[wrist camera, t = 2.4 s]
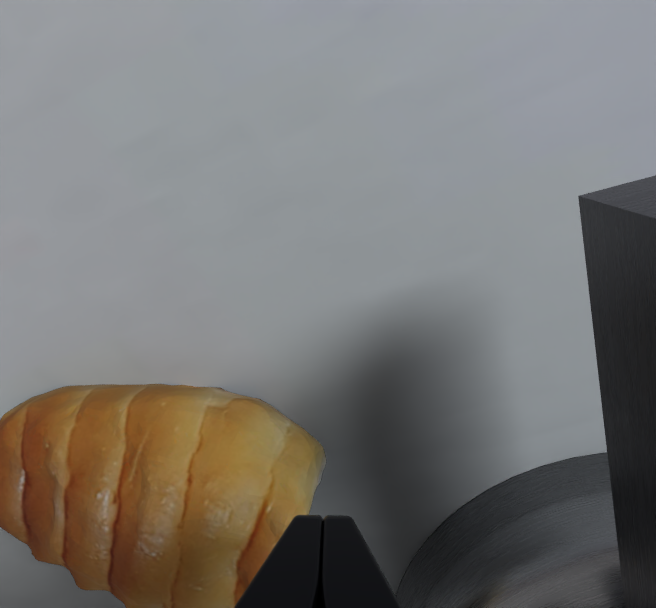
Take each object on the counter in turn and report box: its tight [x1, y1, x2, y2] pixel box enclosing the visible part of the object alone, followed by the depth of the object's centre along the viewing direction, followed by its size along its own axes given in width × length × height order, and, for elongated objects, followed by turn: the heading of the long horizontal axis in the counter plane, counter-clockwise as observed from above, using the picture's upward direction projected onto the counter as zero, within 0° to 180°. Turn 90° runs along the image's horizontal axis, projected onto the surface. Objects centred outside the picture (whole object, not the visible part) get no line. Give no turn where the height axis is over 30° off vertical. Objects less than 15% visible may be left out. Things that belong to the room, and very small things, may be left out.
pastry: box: [0, 384, 326, 608], centre depth 14 cm, size 9×7×4 cm
